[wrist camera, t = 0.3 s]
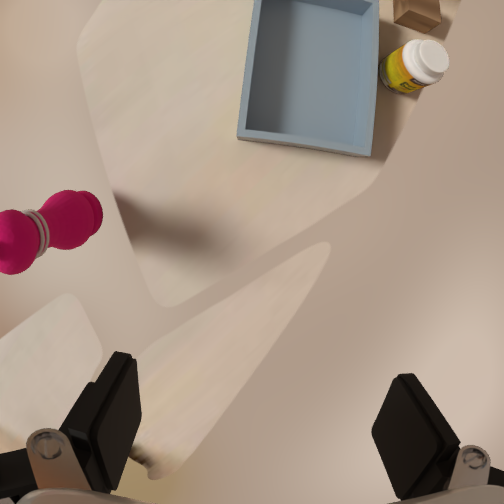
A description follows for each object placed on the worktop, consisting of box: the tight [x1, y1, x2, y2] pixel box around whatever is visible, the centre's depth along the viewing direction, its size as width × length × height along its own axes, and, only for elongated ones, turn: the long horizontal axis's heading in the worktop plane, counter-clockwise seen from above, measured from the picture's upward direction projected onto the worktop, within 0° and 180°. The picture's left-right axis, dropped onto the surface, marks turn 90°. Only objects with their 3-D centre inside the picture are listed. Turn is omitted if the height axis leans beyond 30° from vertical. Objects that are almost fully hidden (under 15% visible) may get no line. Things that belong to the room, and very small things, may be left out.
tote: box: [237, 0, 379, 157], centre depth 32 cm, size 21×15×5 cm
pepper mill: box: [0, 190, 103, 275], centre depth 29 cm, size 7×7×20 cm
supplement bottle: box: [379, 39, 449, 94], centre depth 30 cm, size 6×6×10 cm
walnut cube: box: [393, 0, 441, 34], centre depth 30 cm, size 5×5×5 cm
